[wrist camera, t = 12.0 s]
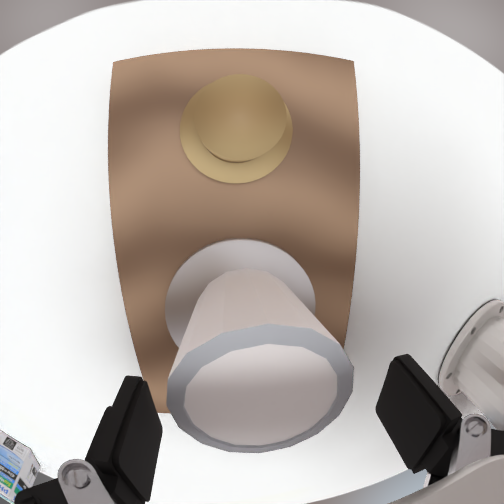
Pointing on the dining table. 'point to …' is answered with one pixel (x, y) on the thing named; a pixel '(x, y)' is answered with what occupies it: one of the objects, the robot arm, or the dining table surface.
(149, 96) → the fitting board
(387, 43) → the dining table surface
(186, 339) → the white short cylinder
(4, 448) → the light bulb box
